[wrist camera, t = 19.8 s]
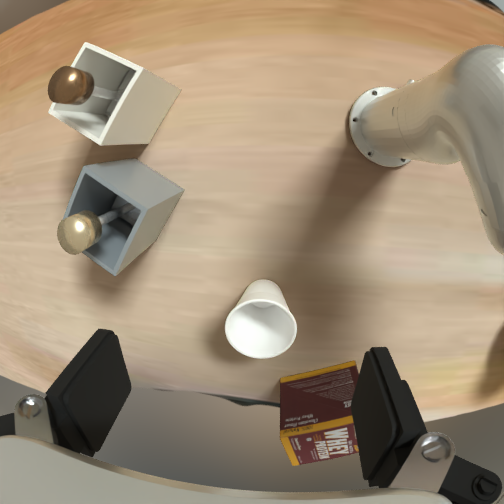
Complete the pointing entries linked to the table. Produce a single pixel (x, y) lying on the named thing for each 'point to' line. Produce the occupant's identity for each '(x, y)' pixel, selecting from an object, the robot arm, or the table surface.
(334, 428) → the supplement box
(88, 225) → the brass knobbed plunger
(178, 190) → the grey open box
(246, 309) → the cup
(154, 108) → the white open box
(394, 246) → the table surface
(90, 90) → the bronze knobbed rod
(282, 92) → the table surface
